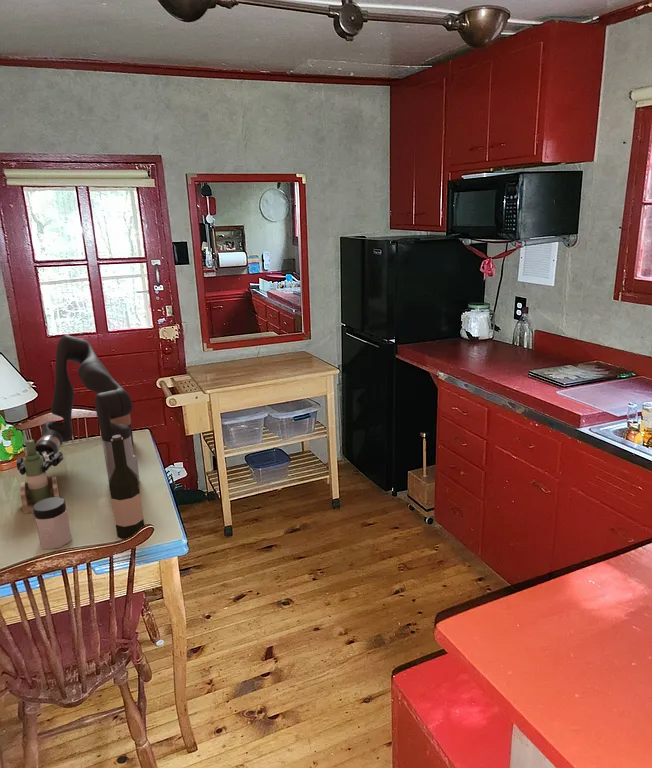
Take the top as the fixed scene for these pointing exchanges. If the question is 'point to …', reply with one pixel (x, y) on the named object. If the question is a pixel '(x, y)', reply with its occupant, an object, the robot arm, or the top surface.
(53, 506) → the jar
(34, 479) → the green bottle
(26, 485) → the cradle
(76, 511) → the top surface
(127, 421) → the travel mug
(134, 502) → the wine bottle
